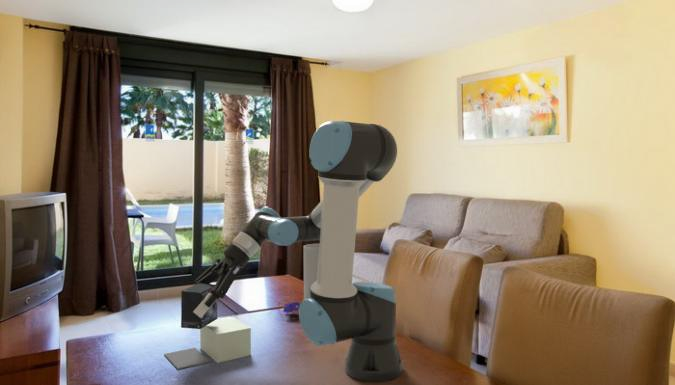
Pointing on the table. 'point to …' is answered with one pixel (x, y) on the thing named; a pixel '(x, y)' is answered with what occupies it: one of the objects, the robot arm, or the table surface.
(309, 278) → the cylinder vase
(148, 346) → the table surface
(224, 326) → the step
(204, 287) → the small box
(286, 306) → the game controller
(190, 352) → the mat
